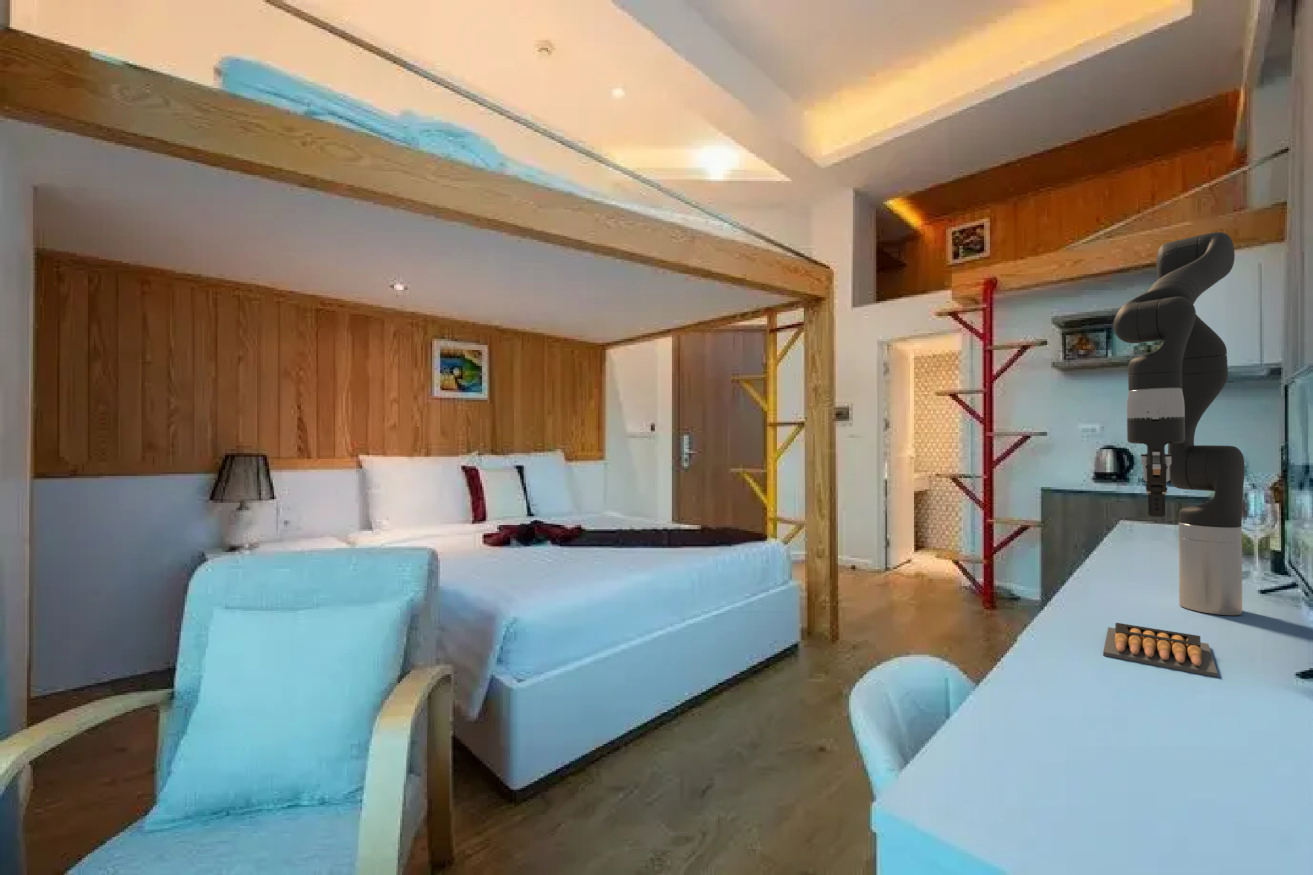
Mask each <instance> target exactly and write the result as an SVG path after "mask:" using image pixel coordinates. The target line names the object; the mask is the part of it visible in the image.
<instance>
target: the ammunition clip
mask: <svg viewBox="0 0 1313 875" xmlns="http://www.w3.org/2000/svg"><path fill="white" fill-rule="evenodd" d="M1114 628H1115V631H1116V634H1115V644H1116V649H1117V650H1118V651H1119V652H1122V651H1124V650H1125V647H1126V646H1127V644H1129V647H1130V651H1131V653H1132V654H1134V655H1136V654H1138V653H1139V650H1140V648H1141V647H1143V649H1144V652H1145V654H1146V656H1148V657H1152V656H1153V655H1154V652H1155V650H1156V649H1157V650H1158V652H1159V655H1160V657H1161V658H1162V659H1163V660H1167V659H1168V658H1169V654H1170V653H1171V652H1173V654H1174V656H1175V659H1176V660H1177V661H1178V662H1179V663H1183V662H1184V661H1185V656H1186V655H1188V656H1189V658H1190V659H1191V661H1192V663H1193V664H1194V665H1195V666H1199V665H1201V662H1202V661H1201V660H1202V651H1201V646H1200V642H1201V636H1200V635H1198V634H1197V635H1195V634H1190V633H1184V632H1183V633H1182V632H1178V631H1177V632H1176V631H1171V630H1164V629H1159V628H1151V627H1148V626H1147V627H1146V626H1141V625H1140V626H1139V625H1133V624H1126V623H1121V622H1116V623H1115V627H1114ZM1128 638H1129V642H1128ZM1142 640H1143V644H1142ZM1156 642H1157V647H1156ZM1171 645H1172V649H1171ZM1186 647H1187V652H1186Z"/></svg>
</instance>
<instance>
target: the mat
mask: <svg viewBox="0 0 1313 875" xmlns="http://www.w3.org/2000/svg"><path fill="white" fill-rule="evenodd" d="M1115 634H1116V631H1115V627H1110V626H1109V627H1108V628H1107V632H1106V638H1105V642H1104V646H1103V651H1102V652H1103V653H1102V654H1103V655H1102V656H1104V657H1107V658H1108V657H1109V658H1114V659H1120V660H1124V661H1130V662H1136V663H1140V664H1146V665H1150V666H1155V667H1160V668H1165V669H1172V670H1175V671H1176V670H1177V671H1181V672H1182V671H1183V672H1186V673H1187V672H1188V673H1191V674H1192V673H1193V674H1198V675H1203V676H1208V677H1214V678H1218V677H1219V676H1218V674H1219V673H1218V670H1217V667H1216V664H1215V661H1214V657H1213V654H1212V651H1211V647H1210V645H1209V643H1208V642H1207V643H1206V642H1201V641H1200V646H1201V651H1202V660H1201V661H1202V662H1201V665H1199V666H1195V665H1194V664H1193V663H1192V661H1191V659H1190V658H1189V656H1188V655H1186V656H1185V661H1184V662H1183V663H1179V662H1178V661H1177V660H1176V659H1175V656H1174V654H1173V652H1171V653H1170V654H1169V658H1168V659H1167V660H1163V659H1162V658H1161V657H1160V655H1159V652H1158V650H1157V649H1156V650H1155V652H1154V655H1153V656H1152V657H1148V656H1146V654H1145V652H1144V649H1143V647H1141V648H1140V650H1139V653H1138V654H1136V655H1134V654H1132V653H1131V651H1130V647H1129V644H1127V646H1126V647H1125V650H1124V651H1122V652H1119V651H1118V650H1117V649H1116V644H1115ZM1128 642H1129V638H1128ZM1142 644H1143V640H1142ZM1156 647H1157V642H1156ZM1171 649H1172V645H1171ZM1186 652H1187V647H1186Z"/></svg>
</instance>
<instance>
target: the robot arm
mask: <svg viewBox="0 0 1313 875" xmlns="http://www.w3.org/2000/svg"><path fill="white" fill-rule="evenodd" d="M1235 255H1236V254H1235V247H1234V242H1233V240H1232V237H1230V235H1229V234H1227V233H1225V232H1221V231H1217V232H1209V233H1204V234H1201V235H1195V236H1191V237H1186V238H1183V239H1179V240H1177V239H1176V240H1174V241H1170V242H1167V243H1164V244H1162V245H1161V246H1160V247H1159V248H1158V251H1157V254H1156V274H1157V280H1156V281H1155V282H1154V283H1153V284H1152V285H1151V286H1150V288H1148V290H1147V291H1146V292H1144V293H1142V294H1140V295H1139V296H1136V297H1135V298H1133V299H1131V300H1129V301H1128V302H1126V303H1124V304H1123V305H1122V306H1121V307H1120V309H1119V310H1118V311H1117V312H1116V315H1115V317H1114V319H1113V331H1114V334H1115V335H1116V337H1117V338H1118V339H1119V340H1120V341H1122V342H1124V343H1128V344H1140V343H1141V344H1142V343H1150V342H1158V341H1163V343H1162V345H1161V346H1160V348H1158V349H1157V350H1156V351H1153V352H1151V353H1148V354H1147V353H1146V354H1144V355H1139V356H1136V357H1134V358H1133V359H1131V360H1130V361H1129V362H1128V365H1127V366H1128V367H1127V375H1128V376H1127V378H1128V379H1127V380H1128V382H1127V383H1128V385H1127V386H1128V395H1127V400H1126V431H1127V433H1126V436H1127V437H1126V438H1127V442H1128V443H1129V444H1134V445H1135V444H1140V445H1146V453H1140V464H1141V465H1142V473H1143V474H1142V480H1143V481H1144V482H1146V484H1145V493H1146V495H1147V511H1148V512H1147V514H1148V516H1150V517H1156V518H1163V517H1165V516H1166V495H1167V493H1168V487H1167V483H1168V482H1170V483H1171V484H1172V486H1173V487H1175V488H1177V489H1180V490H1193V491H1208V492H1214V495H1213V498H1212V499H1211V500H1209V501H1206V502H1205V503H1201V504H1198V505H1192V506H1186V507H1183V508H1180V509H1179V512H1178V579H1179V582H1178V584H1179V586H1178V590H1179V591H1178V593H1179V595H1178V598H1179V600H1178V601H1179V602H1178V603H1179V606H1180V607H1182V608H1185V609H1188V610H1190V611H1191V610H1192V611H1196V612H1201V613H1205V614H1211V615H1222V616H1240V615H1242V614H1243V542H1242V540H1243V539H1242V538H1243V537H1242V536H1243V533H1242V532H1243V531H1242V528H1243V525H1242V524H1243V522H1242V518H1243V510H1244V509H1243V507H1244V506H1243V505H1244V484H1245V469H1246V465H1245V459H1244V455H1243V453H1242V451H1241V450H1240V448H1238V447H1237V446H1233V445H1213V444H1212V445H1210V444H1209V445H1201V444H1199V445H1195V434H1196V429H1197V426H1198V423H1199V421H1200V420H1201V418H1202V417H1203V415H1204V413H1205V412H1206V411H1207V409H1208V408H1209V407H1210V406H1211V404H1212V403H1213V402H1214V401H1215V399H1217V396H1219V394H1220V393H1221V392H1222V390H1223V389H1224V387H1225V385H1226V383H1227V382H1228V379H1229V378H1228V377H1229V373H1228V369H1229V368H1228V352H1227V346H1226V344H1225V342H1224V341H1223V339H1222V338H1221V337H1220V336H1219V335H1218V333H1216V332H1215V331H1214V330H1213V328H1211V327H1210V326H1209V325H1208V324H1206V322H1205V321H1203V320H1202V318H1200V317H1199V316H1198V314H1197V312H1196V307H1195V305H1194V304H1195V302H1196V301H1197V299H1198V298H1199V297H1200V296H1201V295H1202V294H1203V293H1205V291H1208V289H1210V288H1211V287H1213V286H1215V284H1217V283H1218V282H1219V281H1221V280H1222V279H1224V278H1226V276H1227V275H1228V274H1230V272H1231V270H1232V269H1233V267H1234V264H1235V258H1236V257H1235ZM1166 445H1167V453H1166Z"/></svg>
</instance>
